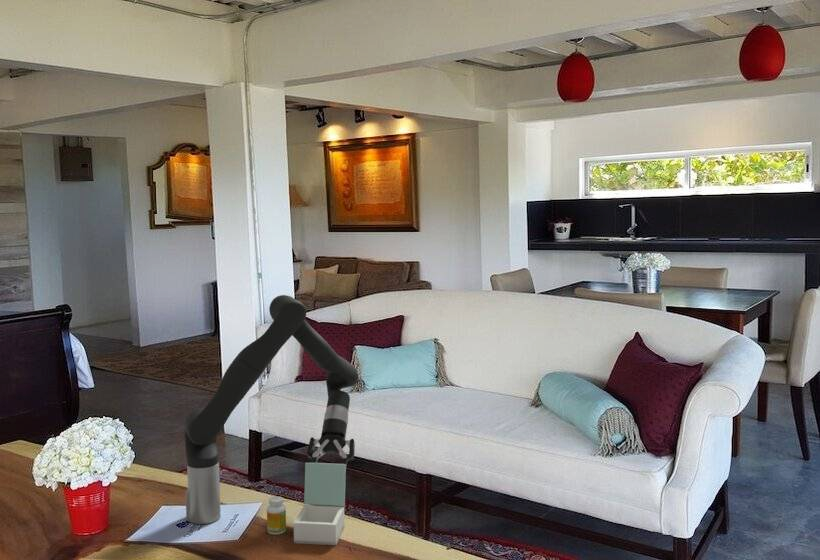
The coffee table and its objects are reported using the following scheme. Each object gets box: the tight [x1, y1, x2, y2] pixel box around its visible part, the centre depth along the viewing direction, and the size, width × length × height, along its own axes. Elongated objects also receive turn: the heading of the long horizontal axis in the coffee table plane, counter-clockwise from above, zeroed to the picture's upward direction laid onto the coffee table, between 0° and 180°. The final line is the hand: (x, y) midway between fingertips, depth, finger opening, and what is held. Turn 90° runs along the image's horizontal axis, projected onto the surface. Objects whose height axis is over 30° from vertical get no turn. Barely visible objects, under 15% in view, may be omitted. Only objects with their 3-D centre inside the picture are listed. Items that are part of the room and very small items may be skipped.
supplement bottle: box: [266, 495, 287, 535], centre depth 219 cm, size 5×5×10 cm
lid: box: [303, 462, 347, 507], centre depth 223 cm, size 12×12×1 cm
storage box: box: [293, 504, 345, 546], centre depth 217 cm, size 12×12×6 cm
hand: (328, 471), depth 227 cm, fingers open, 8 cm apart
